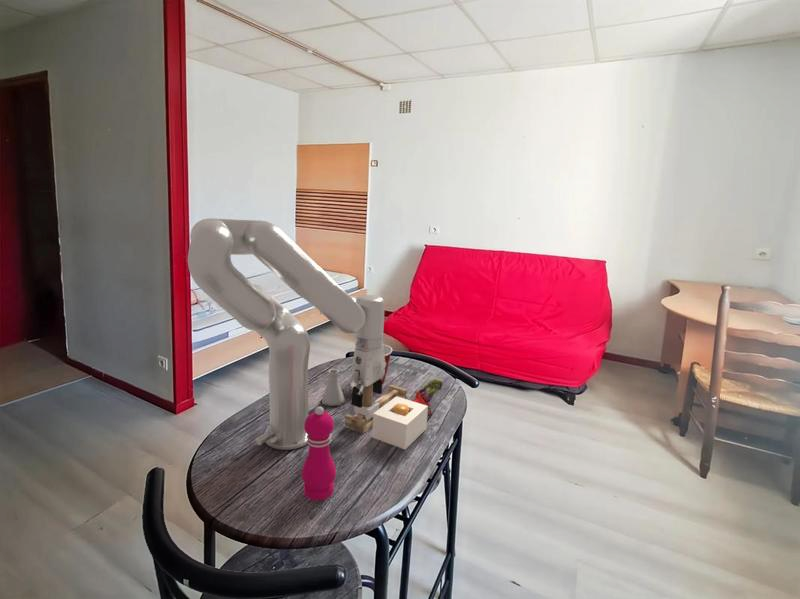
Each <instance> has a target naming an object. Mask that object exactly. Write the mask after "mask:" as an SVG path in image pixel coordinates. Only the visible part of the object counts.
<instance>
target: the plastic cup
mask: <svg viewBox="0 0 800 599" xmlns="http://www.w3.org/2000/svg"><path fill="white" fill-rule="evenodd" d="M383 345H384V351H385V362H386V366H385V374H384V376H383V380H381V381H382V385H384V384H385V381H386V376H387V373H388V368H389V363H390V359H391V354H392V352H393V348H392V347H391V346H390V345H387V344H383Z"/></svg>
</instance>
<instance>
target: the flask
mask: <svg viewBox="0 0 800 599" xmlns="http://www.w3.org/2000/svg"><path fill="white" fill-rule="evenodd" d="M327 373H328V375H329V376H328V382H327V383H326V387H325V389H324V393H323V395H322V398H321V404H322V405H324V406H329V407H335V406H337V407H338V406H341V405H342V404H343V403H345V401H346V400H345V396H344V394H343V391H342V389H341V386H340V383H339V373H340V372H339V369H335V368H331V369H329V370H328V372H327Z"/></svg>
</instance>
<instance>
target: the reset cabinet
mask: <svg viewBox="0 0 800 599" xmlns="http://www.w3.org/2000/svg"><path fill="white" fill-rule="evenodd" d="M396 404H405V405H407V406H408V407H409V413H408V414H407V415H406V416H402V415H399V414H396V413H394V406H395V405H396ZM428 411H429V405H428V406H426V405H423V404H420V403H417V402H413V401H411V400H410V399H407V398H406V399H404V398H401V397H397V396H396V397H395V398H393V399H392V400H391V401H389V402H388V403H387V404H385V405H384V406H383V407H381V408H380V409H379V410H377V411H376V412H375V413H373V426H372V434H371V435H372V438H373V439H375V440H379V441H381V442H384V443H387V444H389V445H391V446H395V447H397V448H399V449H402V450H406V449H407V448H409V447H410V446H411V444H413V442H415V441H416V440H417V439H418V438H419V437H420V436H421V435H422V434H424V433H423V432H425V431H426V430H427V425H428V424H427V423H428Z"/></svg>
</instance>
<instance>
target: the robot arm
mask: <svg viewBox="0 0 800 599" xmlns="http://www.w3.org/2000/svg"><path fill="white" fill-rule="evenodd" d="M189 237H190V243H189V248H188V254H187V266H188V270H189V274H190V277H191V278H192V279H193V282H194V283H195V285H197V287H198V288H199V289H200V290H201V291H203V292H204V294H206V295H207V296H208V297H209V298H211V299H212V300H213V301H214V302H215V303H216V304H217V305H219V307H220V308H222V309H223V310H224V311H225V312H226V313H227V314H229V315H230V316H231V317H232V318H233V319H234V320H236V322H238V324H239V325H241V326H242V327H244V328H245V329H247V330H250V331H255V332H256V333H257V334H258V335H259V336H261V338H263V339H264V341H265V342H266V344H267V346H268V349H269V350H268V351H269V361H268V386H269V388H268V389H269V391H268V392H269V394H268V396H269V424H268V425H266V426H267V427H266V430H265V431H264V433H263V434H262V435H259V436H258V437H256V438H255V443H256V444H257V445H258V446H261V445H263V444H266V445H267V446H269V447H271V448H273V449H277V450H285V451H286V450H289V451H290V450H295V449H299V448H302V447H304V446H306V445H307V444H308V443H307V435H308V434H307V433H306V431H305V427H304V426H305V421H306V419H307V417H308V416H309V404H308V403H309V394H308V393H309V359H310V358H309V357H310V351H311V340H310V336H309V333H308V330H307V329H306V328H305V326H303V324H302V323H301V322H300V321H299V320H298V319H297V317H296V316H295V315H293V313H291V312H290V311H289V310H288V309H287V308H286V307H285V306H283V305H282V303H280V301H278V300H277V299H276V298H275V297H273V295H272V294H270V293H269V292H268V291H267V290H266V289H265V288H264V287H262V286H261V285H258V284H256V283H253V282H252V281H250V280H249V279H248V278H247V277H246V276H245V275H244V274H243V273H242V272H240V270H239V269H237V268H236V267H235V266H234V265H233V262H232V259H231V257H232V255H236V256H237V255H239V256H240V255H242V256H244V255H245V256H246V255H248V256H249V255H253V256H254V257H255V258H256V259H257V260H258V261H259V262H261V263H262V264H263V265H264V266H266V267H267V268H268V270H270V271H271V272H272V273H274V275H275V276H277V278H279V279H280V280H281V281H282V282H283V283H284V284H285V285H287V286H288V287H289V288H290V289H291V290H292V291H294V292H295V293H296V294H297V295H298V296H299V297H300V298H303V299H304V300H305V301H307V302H308V303H309V304H310V305H312V306H313V307H314V308H315V309H317V311H318V312H320V313H321V314H322V315H323V316H325V317H326V318H327V319H328V320H329V321H330V322H331V323H332V324H333V325H334V326H335V327H337V328H338V329H339V330H340V331H341V332H343V333H346V334H354V335H355V336H354V338H355V339H354V340H355V341H354V345H355V346H354V347H355V348H354V353H353V357H352V358H353V359H352V372H351V376H350V378H349V380H348V381H347V385H348V386H347V387H348V390H349V391H350V393H351V405H352V406H353V407H354V406H356V407H359V408H361V407H362V403H363V394H362V390H363V388H364V386H366V387H367V386H369V385H371V384H373V393H375V394H378V395H382V392H383V384H382V381H381V380H383V376H384V374H385V366H386V362H385V351H384V345H385V344H384V330H385V329H384V326H385V300H384V298H383V297H381V296H378V295H374V294H373V295H372V294H367V295H361V296H354V295H353V296H352V295H349V293H347V292H346V291H345V290H344V289H343V288H342V287H341V286H339V284H337V283H336V281H334V279H332V278H331V277H330V276H329V275H328V274H327V273H326V271H325V270H324V269H323V268H322V267H320V265H318V263H316V262H315V260H313V259H312V258H311V257H310V256H309V255H308V254H307V253H306V252H305V251H304V250H302V248H301V247H300V246H298V244H297V243H296V242H294V241H293V239H291V238H290V237H289V235H287V234H286V233H285V232H284V231H283V230H282V228H279V227H278V226H277V225H276V224H273V223H271V222H269V221H266V220H258V219H257V220H252V219H247V220H246V219H232V218H228V219H227V218H215V217H214V218H212V217H211V218H205V219H204V218H203V219H201V220H199V221H197V222H196V223H195V224H194V225H193V226H192V228H191V231H190V236H189ZM357 385H358V386H359V387H357ZM308 445H309V444H308Z"/></svg>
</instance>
